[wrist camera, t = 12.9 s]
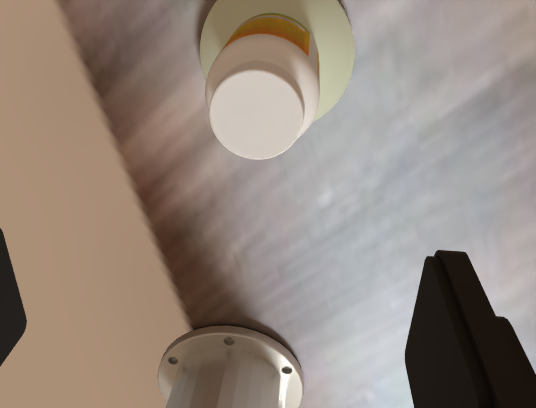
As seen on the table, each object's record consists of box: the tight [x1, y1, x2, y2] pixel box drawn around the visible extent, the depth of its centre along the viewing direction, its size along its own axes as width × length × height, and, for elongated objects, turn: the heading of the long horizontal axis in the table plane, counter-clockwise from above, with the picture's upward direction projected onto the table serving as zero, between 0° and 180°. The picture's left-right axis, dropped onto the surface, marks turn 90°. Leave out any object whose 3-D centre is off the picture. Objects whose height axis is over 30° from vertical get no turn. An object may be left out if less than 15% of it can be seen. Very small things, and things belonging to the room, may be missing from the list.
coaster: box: [200, 0, 355, 122], centre depth 29 cm, size 9×9×1 cm
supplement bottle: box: [205, 12, 320, 159], centre depth 25 cm, size 5×5×10 cm
